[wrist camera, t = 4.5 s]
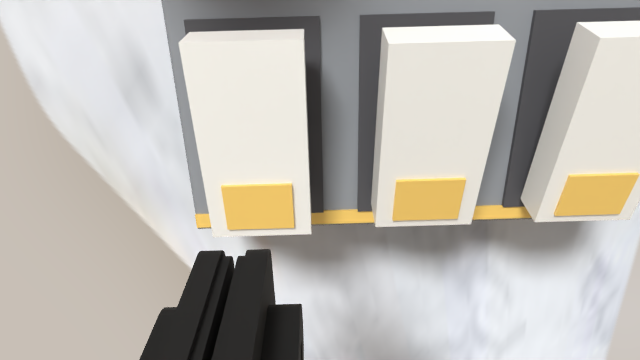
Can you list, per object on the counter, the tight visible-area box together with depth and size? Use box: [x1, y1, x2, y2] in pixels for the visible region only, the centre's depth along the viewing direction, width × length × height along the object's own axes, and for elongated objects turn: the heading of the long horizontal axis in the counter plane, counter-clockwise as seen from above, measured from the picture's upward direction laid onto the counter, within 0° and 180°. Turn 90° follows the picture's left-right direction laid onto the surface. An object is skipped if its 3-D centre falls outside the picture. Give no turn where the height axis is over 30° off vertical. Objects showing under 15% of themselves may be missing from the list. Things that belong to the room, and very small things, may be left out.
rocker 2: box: [371, 24, 516, 227], centre depth 15 cm, size 7×4×2 cm, turn 1°
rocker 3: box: [521, 21, 640, 222], centre depth 15 cm, size 7×4×2 cm, turn 1°
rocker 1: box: [178, 29, 311, 237], centre depth 15 cm, size 7×4×2 cm, turn 1°
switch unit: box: [162, 0, 640, 229], centre depth 19 cm, size 9×18×5 cm, turn 91°
